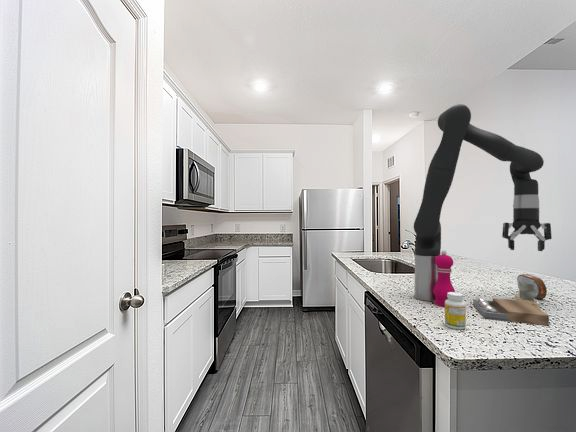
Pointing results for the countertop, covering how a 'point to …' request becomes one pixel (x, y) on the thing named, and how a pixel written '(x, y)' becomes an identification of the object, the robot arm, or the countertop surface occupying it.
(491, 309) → the disc
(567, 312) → the countertop surface
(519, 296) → the scraper
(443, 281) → the pepper mill
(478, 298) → the disc
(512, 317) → the walnut board
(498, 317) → the tray
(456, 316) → the supplement bottle
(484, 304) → the disc
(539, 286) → the tin
